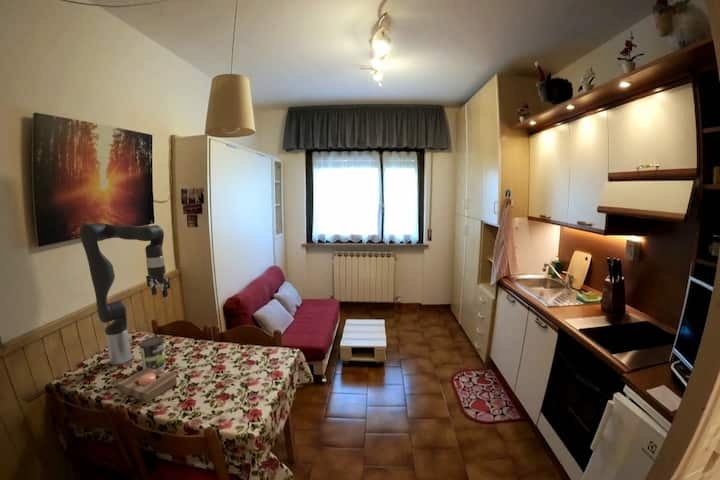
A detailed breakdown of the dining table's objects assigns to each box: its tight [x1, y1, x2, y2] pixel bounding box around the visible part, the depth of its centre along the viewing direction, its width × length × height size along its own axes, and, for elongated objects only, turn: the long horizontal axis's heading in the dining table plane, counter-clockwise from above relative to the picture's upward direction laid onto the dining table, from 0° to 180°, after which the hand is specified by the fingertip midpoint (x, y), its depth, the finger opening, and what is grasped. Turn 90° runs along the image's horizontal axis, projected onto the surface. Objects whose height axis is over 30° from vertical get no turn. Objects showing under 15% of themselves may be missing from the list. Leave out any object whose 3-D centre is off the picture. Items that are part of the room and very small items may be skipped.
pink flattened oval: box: [138, 374, 156, 387], centre depth 146 cm, size 7×7×4 cm
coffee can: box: [138, 336, 167, 370], centre depth 162 cm, size 10×10×14 cm
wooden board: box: [117, 367, 177, 403], centre depth 146 cm, size 20×14×4 cm
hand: (159, 295), depth 160 cm, fingers open, 7 cm apart
